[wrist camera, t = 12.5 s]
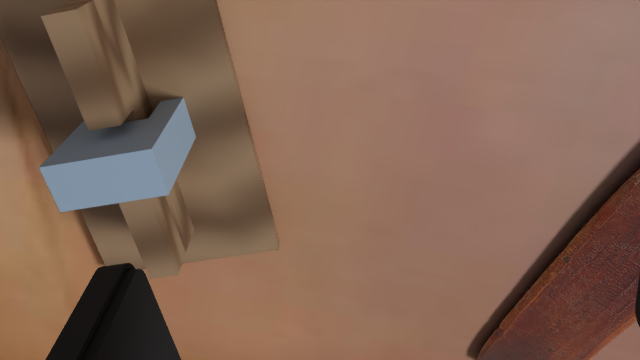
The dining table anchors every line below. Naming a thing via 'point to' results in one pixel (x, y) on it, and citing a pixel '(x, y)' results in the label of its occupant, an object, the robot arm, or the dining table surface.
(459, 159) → the dining table surface
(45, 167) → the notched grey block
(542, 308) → the wooden tablet
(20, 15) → the walnut stand
